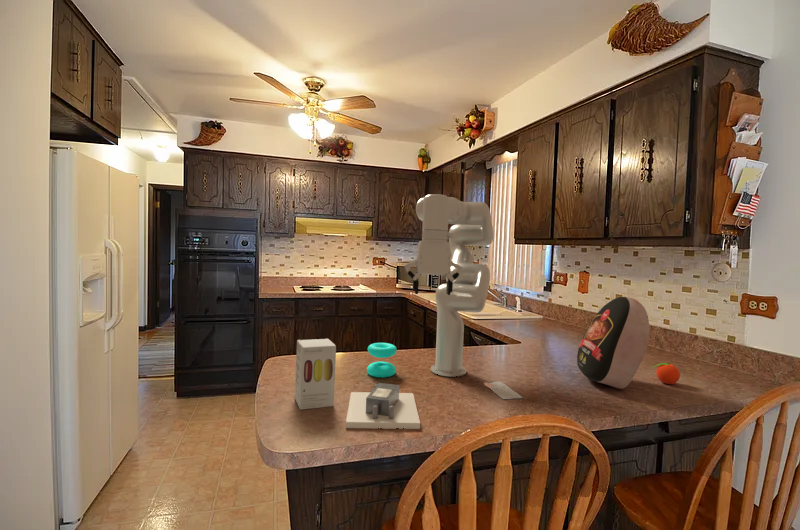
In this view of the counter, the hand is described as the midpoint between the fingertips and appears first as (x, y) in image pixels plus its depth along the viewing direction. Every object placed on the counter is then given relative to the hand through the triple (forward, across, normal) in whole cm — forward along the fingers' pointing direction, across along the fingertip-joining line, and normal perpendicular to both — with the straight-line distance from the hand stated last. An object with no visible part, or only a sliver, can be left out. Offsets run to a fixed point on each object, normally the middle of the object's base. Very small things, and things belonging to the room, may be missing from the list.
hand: (432, 294), depth 123 cm
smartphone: (+31, -24, -4) cm, 39 cm away
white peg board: (+30, +14, +14) cm, 36 cm away
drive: (+29, +14, +14) cm, 35 cm away
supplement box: (+31, +33, +8) cm, 46 cm away
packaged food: (+31, -64, -13) cm, 72 cm away
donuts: (+31, +14, -18) cm, 38 cm away
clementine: (+31, -85, -14) cm, 91 cm away
